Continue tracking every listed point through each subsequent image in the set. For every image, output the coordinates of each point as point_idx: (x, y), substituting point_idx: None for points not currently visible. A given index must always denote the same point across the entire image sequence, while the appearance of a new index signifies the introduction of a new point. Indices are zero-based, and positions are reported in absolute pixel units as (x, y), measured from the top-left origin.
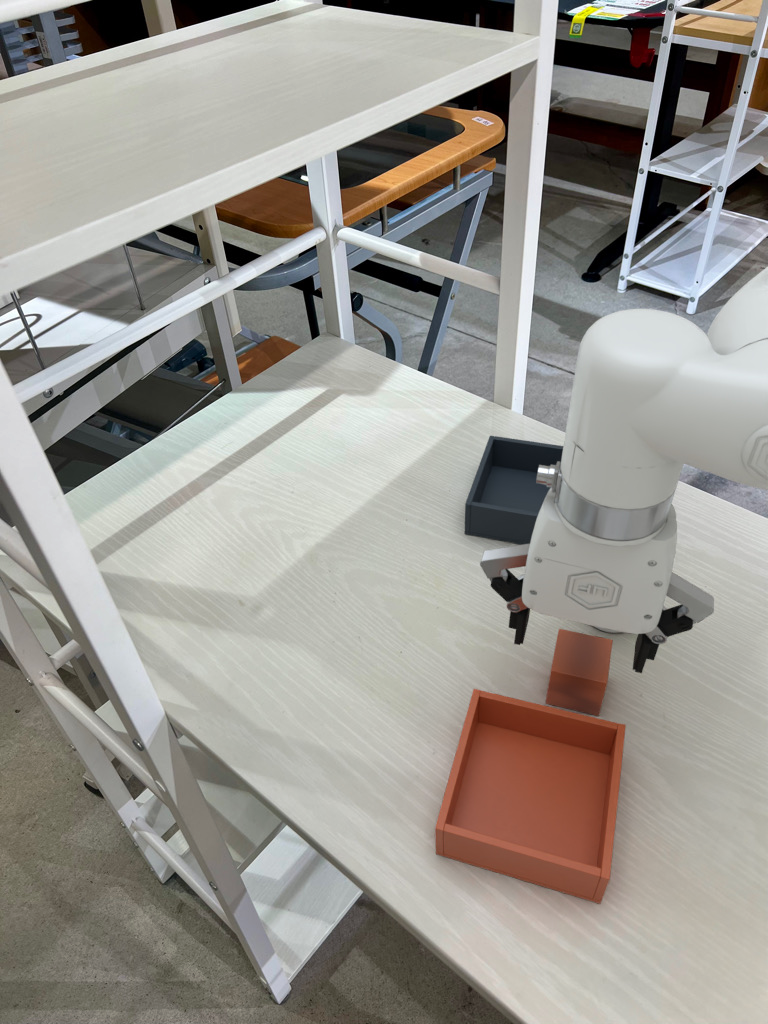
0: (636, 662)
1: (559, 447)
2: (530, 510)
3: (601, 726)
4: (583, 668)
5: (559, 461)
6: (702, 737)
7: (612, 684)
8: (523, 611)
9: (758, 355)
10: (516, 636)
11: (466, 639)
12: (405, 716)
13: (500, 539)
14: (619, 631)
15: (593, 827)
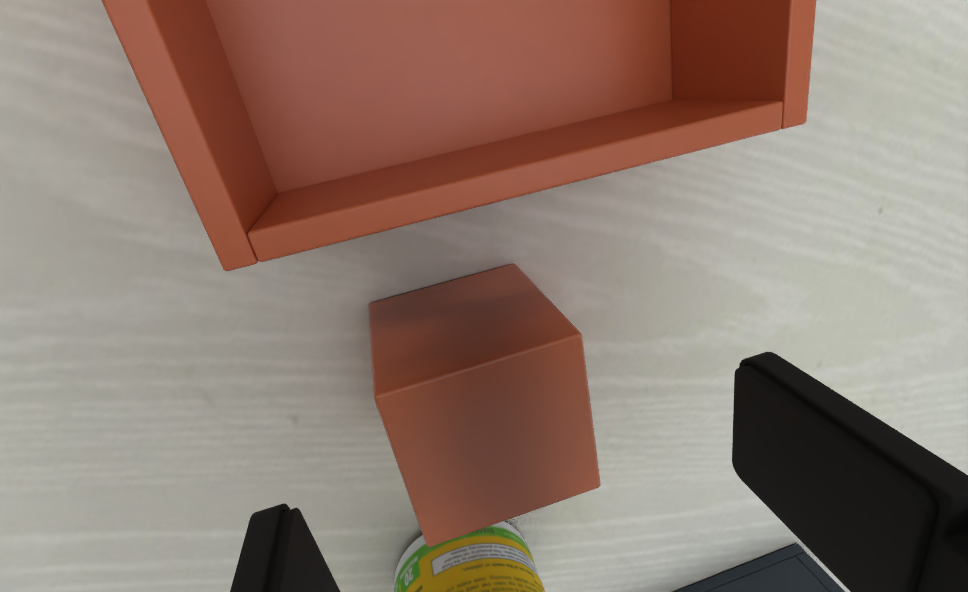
0: (279, 559)
1: None
2: None
3: (312, 214)
4: (477, 403)
5: None
6: (69, 397)
7: (376, 407)
8: (951, 523)
9: None
10: (809, 380)
11: (743, 326)
12: (846, 24)
13: (730, 574)
14: (421, 539)
15: None
